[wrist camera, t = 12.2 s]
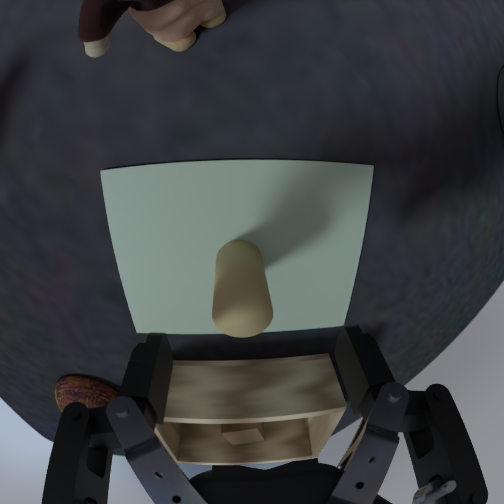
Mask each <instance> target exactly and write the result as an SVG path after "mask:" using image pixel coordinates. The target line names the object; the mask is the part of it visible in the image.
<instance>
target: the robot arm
mask: <svg viewBox="0 0 504 504" xmlns="http://www.w3.org/2000/svg"><path fill="white" fill-rule="evenodd" d="M498 107H499V114H500V119H501V123H502V127H503V130H504V67H503V68H502V69H501V72H500V75H499V80H498ZM335 359H336V362H337V365H338V368H339V371H340V374H341V377H342V380H343V383H344V386H345V389H346V392H347V395H348V398H349V401H350V404H351V407H352V410H353V414H359V413H362V416H363V419H362V421H361V423H360V425H359V428H358V429H357V432H356V434H355V436H354V438H353V440H352V442H351V444H350V446H349V448H348V450H347V451H346V453H345V455H344V456H343V458H342V459H341V461H340V463H339V464H338V466H337V467H335V466H332V465H328V464H323V463H318V458H314V459H308V460H301V461H292V462H290V463H287V464H284V465H281V466H277V467H274V468H271V469H267V470H262V469H257V468H250V467H245V466H240V465H212V470H210V471H206V472H203V473H201V474H198V475H196V476H194V477H192V478H191V479H190V480H189V479H188V478H187V477H186V475H185V474H184V472H183V471H182V470H181V469H180V467H179V466H178V465H177V463H176V462H175V461H174V459H173V458H172V457H171V455H170V454H169V452H168V451H167V450H166V448H165V447H164V445H163V444H162V442H161V441H160V439H159V438H158V436H157V435H156V433H155V432H154V431H155V425H156V424H163V422H164V416H165V409H166V403H167V397H168V391H169V386H170V380H171V375H172V369H173V355H172V351H171V348H170V345H169V341H168V338H167V335H166V333H157V332H150V333H149V334H148V337H147V340H146V343H139V344H138V345H137V346H136V347H135V348H134V350H133V351H132V354H131V357H130V361H129V363H128V366H127V369H126V372H125V375H124V378H123V382H122V385H121V388H120V391H119V394H118V397H116V398H114V399H112V400H111V401H110V402H109V403H108V405H107V406H103V407H95V408H87V406H86V405H85V404H83V403H81V402H72V403H70V404H68V405H67V406H66V407H65V408H64V410H63V412H62V415H61V418H60V422H59V425H58V429H57V432H56V436H55V440H54V444H53V448H52V452H51V456H50V460H49V465H48V469H47V474H46V480H45V485H44V491H43V497H42V504H107V500H108V489H109V479H110V471H111V463H112V456H113V449H115V448H123V449H124V450H125V453H126V454H125V456H126V459H127V461H128V462H129V464H130V466H131V468H132V469H133V471H134V472H135V474H136V476H137V478H138V479H139V481H140V482H141V484H142V485H143V487H144V489H145V490H146V492H147V493H148V495H149V496H150V498H151V499H152V500H153V502H154V503H155V504H392V503H390V502H389V501H387V500H386V499H384V498H383V497H381V496H379V495H378V494H377V493H378V491H379V489H380V487H381V485H382V483H383V480H384V478H385V476H386V474H387V471H388V469H389V467H390V464H391V462H392V459H393V456H394V454H395V451H396V448H397V446H398V443H399V437H398V432H403V434H404V437H405V440H406V444H407V447H408V450H409V454H410V457H411V461H412V465H413V468H414V472H415V475H416V480H417V484H418V487H419V490H417V492H416V493H415V495H414V497H413V503H412V504H486V502H487V499H488V491H487V487H486V484H485V480H484V478H483V474H482V471H481V468H480V465H479V462H478V459H477V456H476V454H475V451H474V448H473V445H472V443H471V440H470V437H469V435H468V432H467V430H466V428H465V425H464V423H463V420H462V418H461V416H460V413H459V411H458V409H457V407H456V404H455V402H454V400H453V398H452V396H451V394H450V392H449V390H448V389H447V388H446V387H445V386H443V385H441V384H432V385H430V386H429V387H428V388H427V389H426V391H410V390H407V389H406V388H405V386H403V385H402V384H400V383H397V382H396V381H395V380H394V378H393V375H392V373H391V371H390V369H389V367H388V365H387V363H386V361H385V359H384V357H383V355H382V353H381V351H380V350H379V347H378V345H377V343H376V341H375V340H374V339H373V338H372V337H371V336H370V335H369V334H368V333H367V334H362V331H361V329H360V327H359V326H358V325H357V324H353V325H344V326H341V328H340V331H339V335H338V339H337V343H336V346H335Z"/></svg>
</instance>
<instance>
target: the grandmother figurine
mask: <svg viewBox="0 0 504 504" xmlns="http://www.w3.org/2000/svg"><path fill="white" fill-rule="evenodd" d="M127 9H128V11H129V13H130V15H131V16H132V17H133V18H134V19H135V20H136V21H137V22H138V23H139V24H140V25H141V26H142V27H143V28H144V29H145V30H146V31H147V32H148V33H150V34H152V35H153V36H154V38H155V40H156V41H158V42H159V43H161V44H163V45H165V46H167V47H168V48H170V49H172V50H174V51H177V52H181V51H185V50H187V49H188V48H189V47H190V46H192V45H193V43H194V42H195V40H196V34H195V32H194V31H193V30H194V29H195V28H196V27H197V26H198V25H199V24H200V25H201V26H203V27H206V28H212V27H215V26H218V25H220V24H222V23H223V22H224V21H225V19H226V13H225V9H224V6H223V3H222V1H221V0H83V3H82V7H81V12H80V18H79V26H78V37H79V40H80V41H82V42H84V44H85V51H86V53H87V55H89V56H90V57H99V56H101V55H103V54H105V53H106V52H107V50H108V49H109V46H110V39H109V36H110V32H111V29H112V28H113V27H114V25H115V23H116V22H117V20H118V19H119V18H120V17H121V15H122V14H123V13H124V12H125V11H126V10H127Z"/></svg>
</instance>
